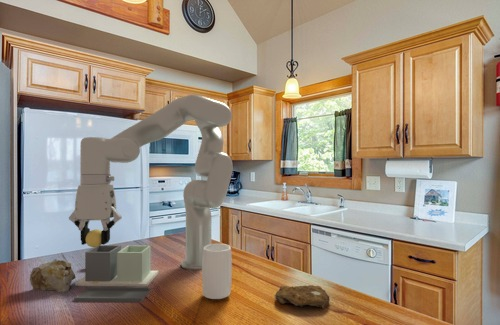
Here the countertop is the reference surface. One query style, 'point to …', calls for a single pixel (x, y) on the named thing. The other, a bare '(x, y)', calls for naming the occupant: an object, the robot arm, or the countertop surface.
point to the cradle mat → (113, 294)
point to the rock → (52, 276)
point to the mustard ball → (93, 238)
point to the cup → (216, 271)
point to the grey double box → (118, 266)
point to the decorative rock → (303, 296)
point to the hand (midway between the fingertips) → (95, 242)
